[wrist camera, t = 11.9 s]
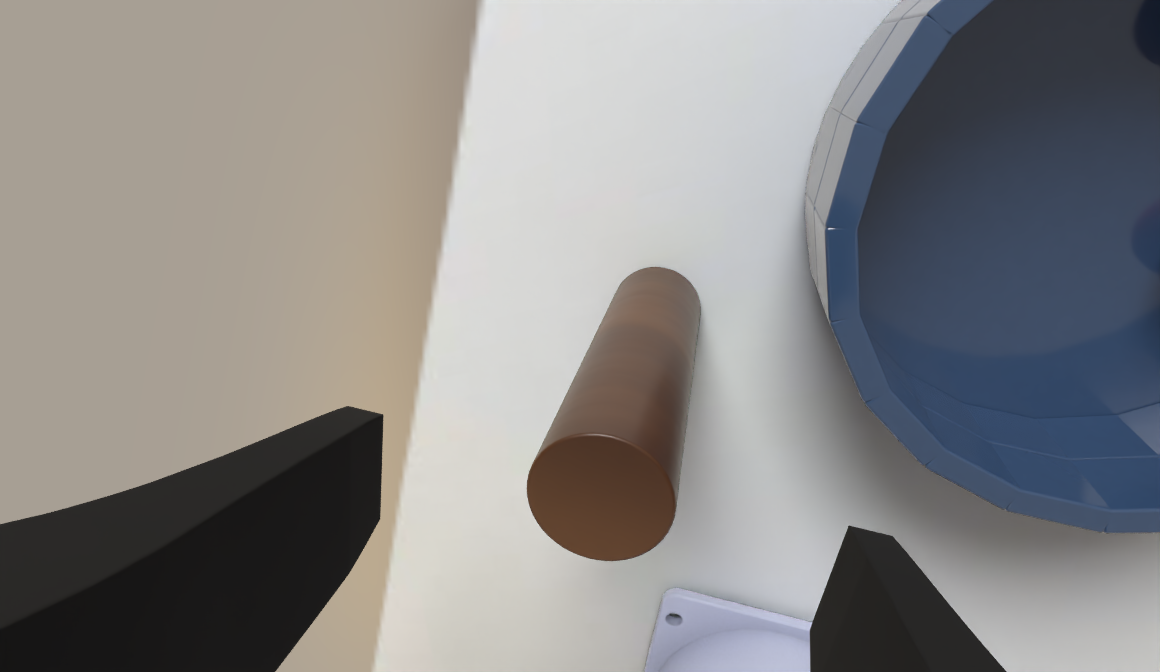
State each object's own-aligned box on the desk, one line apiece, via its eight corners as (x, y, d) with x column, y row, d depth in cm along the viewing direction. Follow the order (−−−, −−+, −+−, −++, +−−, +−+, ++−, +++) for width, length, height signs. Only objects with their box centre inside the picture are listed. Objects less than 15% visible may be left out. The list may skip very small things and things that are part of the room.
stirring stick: (691, 356, 19) (660, 578, 11) (607, 338, 20) (518, 541, 12) (709, 276, 18) (689, 454, 10) (621, 258, 19) (534, 418, 11)
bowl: (1233, 472, 18) (1384, 599, 14) (752, 369, 19) (757, 455, 15) (1579, -78, 13) (1981, -138, 9) (895, -155, 14) (960, -238, 10)
